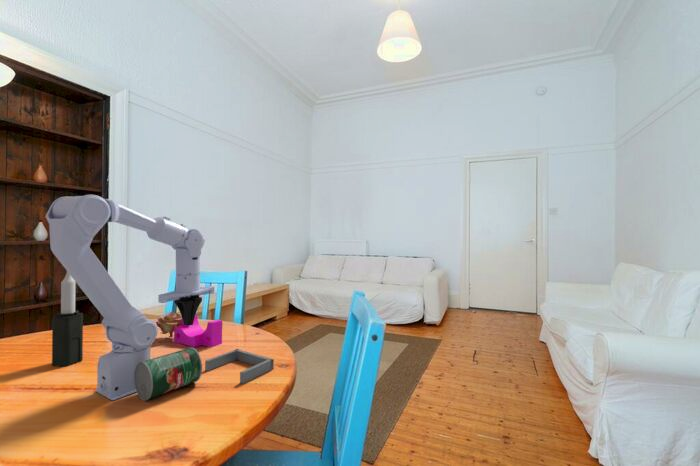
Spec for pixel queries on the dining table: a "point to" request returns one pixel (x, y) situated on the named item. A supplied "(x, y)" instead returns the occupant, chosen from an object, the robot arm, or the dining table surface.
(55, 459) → the dining table surface
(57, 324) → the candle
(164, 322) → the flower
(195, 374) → the canned tomato
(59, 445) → the dining table surface
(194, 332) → the toy block
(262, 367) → the box
